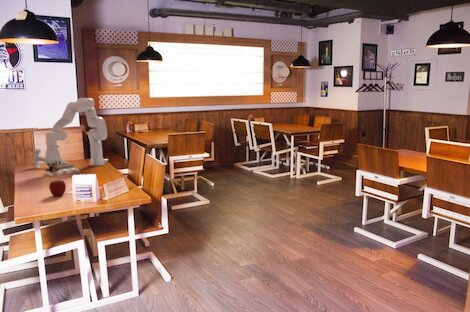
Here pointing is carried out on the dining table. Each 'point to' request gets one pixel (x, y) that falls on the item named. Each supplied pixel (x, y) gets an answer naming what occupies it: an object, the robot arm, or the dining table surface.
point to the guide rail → (62, 167)
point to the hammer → (39, 158)
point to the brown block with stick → (54, 167)
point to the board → (62, 171)
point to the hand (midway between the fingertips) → (54, 170)
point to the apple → (57, 187)
